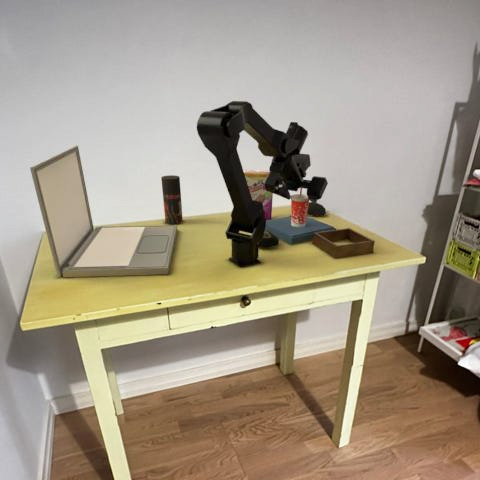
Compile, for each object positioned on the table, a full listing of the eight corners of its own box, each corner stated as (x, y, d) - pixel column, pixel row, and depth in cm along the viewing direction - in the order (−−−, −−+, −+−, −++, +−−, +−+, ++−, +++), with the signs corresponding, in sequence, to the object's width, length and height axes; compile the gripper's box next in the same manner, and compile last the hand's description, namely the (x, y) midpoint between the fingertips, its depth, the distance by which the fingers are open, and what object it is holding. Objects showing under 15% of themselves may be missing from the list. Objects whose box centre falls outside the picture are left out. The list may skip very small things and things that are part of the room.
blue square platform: (291, 244, 120) (291, 236, 119) (257, 228, 133) (258, 221, 132) (335, 234, 128) (336, 226, 127) (300, 220, 142) (300, 213, 140)
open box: (334, 258, 111) (336, 246, 109) (312, 243, 121) (313, 232, 119) (372, 252, 115) (375, 241, 113) (348, 238, 125) (349, 227, 123)
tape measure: (279, 249, 117) (280, 236, 115) (257, 251, 115) (257, 239, 113) (270, 241, 123) (271, 229, 121) (249, 243, 121) (249, 231, 119)
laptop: (168, 274, 101) (157, 165, 88) (56, 277, 100) (28, 167, 86) (177, 230, 131) (170, 144, 118) (91, 232, 130) (74, 145, 116)
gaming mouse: (308, 206, 157) (309, 196, 155) (329, 216, 146) (330, 205, 144) (294, 208, 155) (294, 197, 153) (314, 218, 144) (315, 207, 141)
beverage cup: (297, 229, 125) (301, 182, 118) (284, 224, 129) (287, 179, 122) (312, 225, 128) (316, 180, 121) (298, 221, 132) (302, 176, 125)
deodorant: (181, 224, 137) (178, 179, 129) (164, 224, 137) (159, 179, 129) (183, 219, 142) (180, 175, 134) (167, 219, 142) (163, 175, 134)
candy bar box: (240, 221, 140) (240, 172, 132) (239, 217, 144) (239, 169, 136) (272, 221, 140) (274, 172, 132) (270, 217, 145) (272, 169, 136)
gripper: (328, 147, 109) (340, 182, 123) (270, 142, 118) (286, 175, 132) (313, 182, 108) (326, 213, 121) (255, 174, 117) (273, 204, 130)
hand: (302, 200), depth 126 cm, fingers open, 9 cm apart
